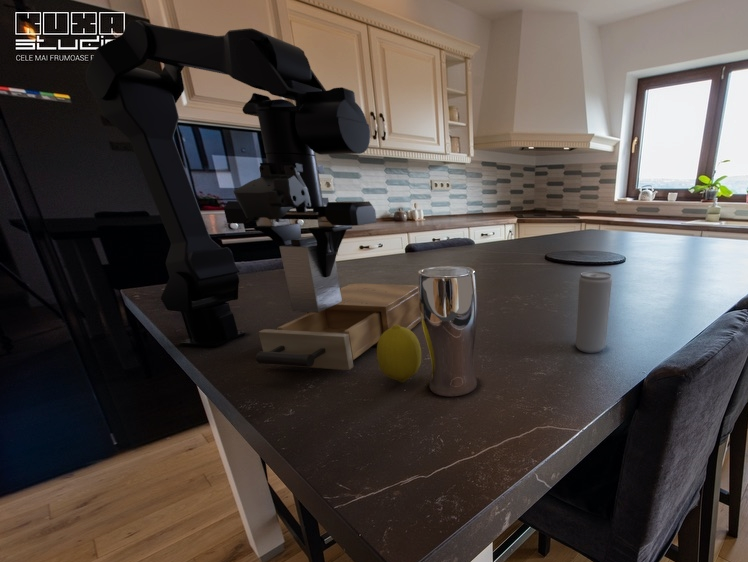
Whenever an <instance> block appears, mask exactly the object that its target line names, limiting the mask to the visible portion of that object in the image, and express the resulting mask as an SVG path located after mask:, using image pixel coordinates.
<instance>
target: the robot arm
mask: <svg viewBox="0 0 748 562" xmlns="http://www.w3.org/2000/svg"><path fill="white" fill-rule="evenodd" d="M147 60H149V61H154V62H157V63H161V64H163V68H162V70H161V72H160V73H157V72H155V71H152V70H148V69H143V68H140V67H141V66H143V65H144V64H145V63H146V62H147ZM185 67H187V68H193V69H196V70H197V69H198V70H202V71H207V72H211V73H217V74H223V75H228V76H229V77H230V78H232V79H233V80H236V81H238V82H239V83H243V84H245V85H247V86H249V87H251V88H254V89H258V90H260V91H264V92H268V93H269V94H270V95H272V96H276V97H279V99H278V98H277V99H271V98H270V97H269V96H268V95H264V94H260V93H256V92H253V93H252V94H251V97H250V98H249V100H248V101H247V102H246V103H244V105H243V107H242V108H241V109H242V110H241V111H242V113H243V114H245V115H249V116H252V117H253V116H254V117H257V119H258V123H259V129H260V132H261V139H262V144H263V149H264V154H265V159H266V162H259V168H258V169H259V174H260V175H259V176H260V177H258V178H256V179H252V180H250V181H249V182H247V183H245V184H243V185H241V186H239V187H237V188H235V189H234V190H233V195H234V196H235V198H236V200H227V202H226V203H225V205H224V207H223V212H224V216H225V219H226V223H227V224H240V225H241V224H244V225H246V224H249V223H250V222H255V223H256V225H255V226H252V228H253V229H254V230H255V231H256V232H257V231H259V232H261V233H262V234H264V235H266V236H267V237H268V238H270V239H271V240H272V241H273V243H274V245H275V246H276V247H277V249H278V250H279V251H280V246H283V245H288V244H292V243H291V240H292V239H297V238H302V231H301V223H291V220H305V221H307V220H309V221H312V220H313V221H317V225H318V226H313V227H312V226H311V227H308V230H309V232H310V233H311V235H312V236H314V237H315V238H316V241H317V247H318V253H319V259H320V266H321V269H322V273H323V276H324V277H329V276H330V275H331V272H332V269H333V265H334V262H335V259H336V258H337V255H338V252H339V249H340V247H341V245H342V242H343V239H344V237H345V235H346V232H347V231H348V230H352V229H353V227H354V226H355V227H357V226H363V225H370V224H374V223H377V221H378V220H377V213H376V209H375V208H374V206H373V204H372V203H371V202H370V201H369V200H367V201H359V200H358V201H357V200H356V201H355V200H351V201H350V200H346V201H345V200H344V201H330V200H329V197H323V193H322V186H321V180H320V174H325V167H324V165H323V164H318V161H317V154H318V155H321V156H323V155H324V156H327V155H360V154H364V153H365V152H366V151H367V150H368V148H369V145H370V142H371V127H370V124H369V123H368V121H367V118H366V116H365V115H366V114H365V113H364V111H363V109H362V108H361V107H360V105H359V104H358V103H357V102H356V94H355V92H354V91H353V90H352V89H348V88H345V87H333V88H331V89H328V90H327V89H326V88H325V87H324V85H323V83H321V81H320V80H319V78H318V76H317V75H316V74H315V73H314V71H313V70H312V68H311V64H310V62H309V58H308V57H307V56H306V54H305V51H304V50H303V49H302V48H300V47H299V46H297V45H294V44H291V43H289V42H286V41H284V40H281V39H279V38H277V37H274V36H272V35H270V34H267V33H264V32H262V31H259V30H258V29H255V28H251V27H250V28H240V29H239V28H238V29H230V30H228V31H227V32H225V34H224V35H223V34H222V35H215V34H214V35H213V34H208V33H202V32H196V31H191V30H186V29H185V30H184V29H179V28H173V27H168V26H162V25H157V24H153V23H151V22H148V21H144V20H141V19H138V20H129V22H127V24H126V26H125V28H124V30H123V31H122V34H121V35H118V36H117V37H115V38H113V39H111V40H110V41H108V42H106V43H104V44H102V45H100V46H98V47H97V48H96V49H95V51H94V54H93V55H92V57H91V60H90V62H89V64H88V66H87V68H86V71H85V82H86V84H87V88H88V90H89V91H90V93H91V94H92V95H93V97H94V99H95V101H96V103H97V104H98V105H97V106H98V107H99V109H100V110H101V112H102V114H103V116H104V117H105V118H106V119H107V120H108V121H109V122H110V123H111V124H112V125H113V126H114V127H115V128H116V129H117V130H118V131H120V132H121V133H122V134H123V135H124V136H125V137H126V138H127V139H128V141H129V143H130V145H131V148H132V149H133V152H134V155H135V157H136V160H137V162H138V165H139V167H140V170H141V172H142V175H143V178H144V180H145V182H146V185H147V187H148V190H149V192H150V194H151V197H152V199H153V202H154V205H155V207H156V209H157V212H158V214H159V217H160V219H161V222H162V224H163V227H164V229H165V232H166V234H167V236H168V240H169V242H170V247H169V250H168V252H167V257H166V259H165V266H166V270H167V273H168V280H167V283H166V285H165V287H164V289H163V292H162V294H161V296H160V299H161V300H160V301H162V303H163V305H164V307H165V309H166V310H167V311H170V312H179V313H180V314H181V317H182V320H183V323H184V326H185V329H186V332H187V336H188V338H187V339H184V340H182V341H180V344H181V345H182V346H190V347H191V346H192V347H193V346H194V347H208V348H209V347H210V348H215V347H218V346H219V347H220V346H221V345H223V344H226V343H228V342H231V341H232V340H235V339H237V338H240V337H241V336H244V335H245V333H246V332H245V331H244V330H238V327H237V323H236V320H235V315H234V312H233V311H232V310H231V307H230V302H232V301H237V300H239V285H240V276H239V273H240V272H241V271H240V270H239V268H238V266H237V264H236V262H235V258H234V254H233V251H232V250H231V249H230V248H229V247H228V246H225V247H221V246H220V245H219V244H218V243H216V241H214V240H213V239H212V237H211V236H210V233H209V231H208V227H207V225H206V222H205V220H204V217H203V214H202V212H201V209H200V206H199V204H198V201H197V199H196V196H195V193H194V190H193V187H192V185H191V182H190V179H189V176H188V174H187V171H186V169H185V166H184V163H183V161H182V157H181V155H180V152H179V149H178V147H177V144H176V140H175V138H174V136H175V132H176V129H177V126H178V123H179V120H180V116H179V112H178V108H177V102H178V101H179V99H180V98H181V96H182V94H183V93H184V92H185V85H184V80H183V74H182V71H183V69H184V68H185ZM289 100H291V101H289ZM292 101H295V104H294V103H293V102H292ZM292 209H295V210H292Z"/></svg>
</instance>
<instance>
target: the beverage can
mask: <svg viewBox="0 0 748 562" xmlns="http://www.w3.org/2000/svg"><path fill="white" fill-rule="evenodd" d="M612 282H613V279H612V274H611V273H609V272H605V271H595V270H594V271H593V270H592V271H583V272H581V273H580V277H579V279H578V293H577V294H578V295H577V296H578V297H577V315H576V316H577V319H576V334H575V346H576V349H578V350H579V351H581V352H583V353H588V354H595V353H600V352H602V351H604V350H605V349H606V347H607V339H608V338H607V337H608V326H609V316H610V305H611V294H612Z"/></svg>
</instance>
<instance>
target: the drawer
mask: <svg viewBox="0 0 748 562" xmlns="http://www.w3.org/2000/svg"><path fill="white" fill-rule="evenodd" d="M383 333H384V332H383V323H382V315H381V312H375V311H354V310H333V309H325V310H323V311H321V312H319V313H313V312H311V313H308V314H307V313H305V314H304V315H302V316H299V317H297V318H295V319H293V320H291V321H289V322H287V323H284V324H282V325H280V326H278V327H277V328H276V329H270V328H263V329H261V330H259V331H258V337H259V341H260V345H261V350H260V351H258V352H257V353H256V356H255V361H256V362H257V363H258V364H261V365H262V364H263V365H269V366H270V365H271V366H285V367H299V368H312V369H327V370H339V371H340V370H341V371H350V370H352V369H353V368H354V360H355V359H357V358H358V357H359V356H361V355H363V353H365V352H366V351H367V350H369V349H370V348H371V347H374V346H373V345H374V344H375V343H377V342H378V341H379V339H380V337H381V335H382V334H383Z"/></svg>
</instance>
